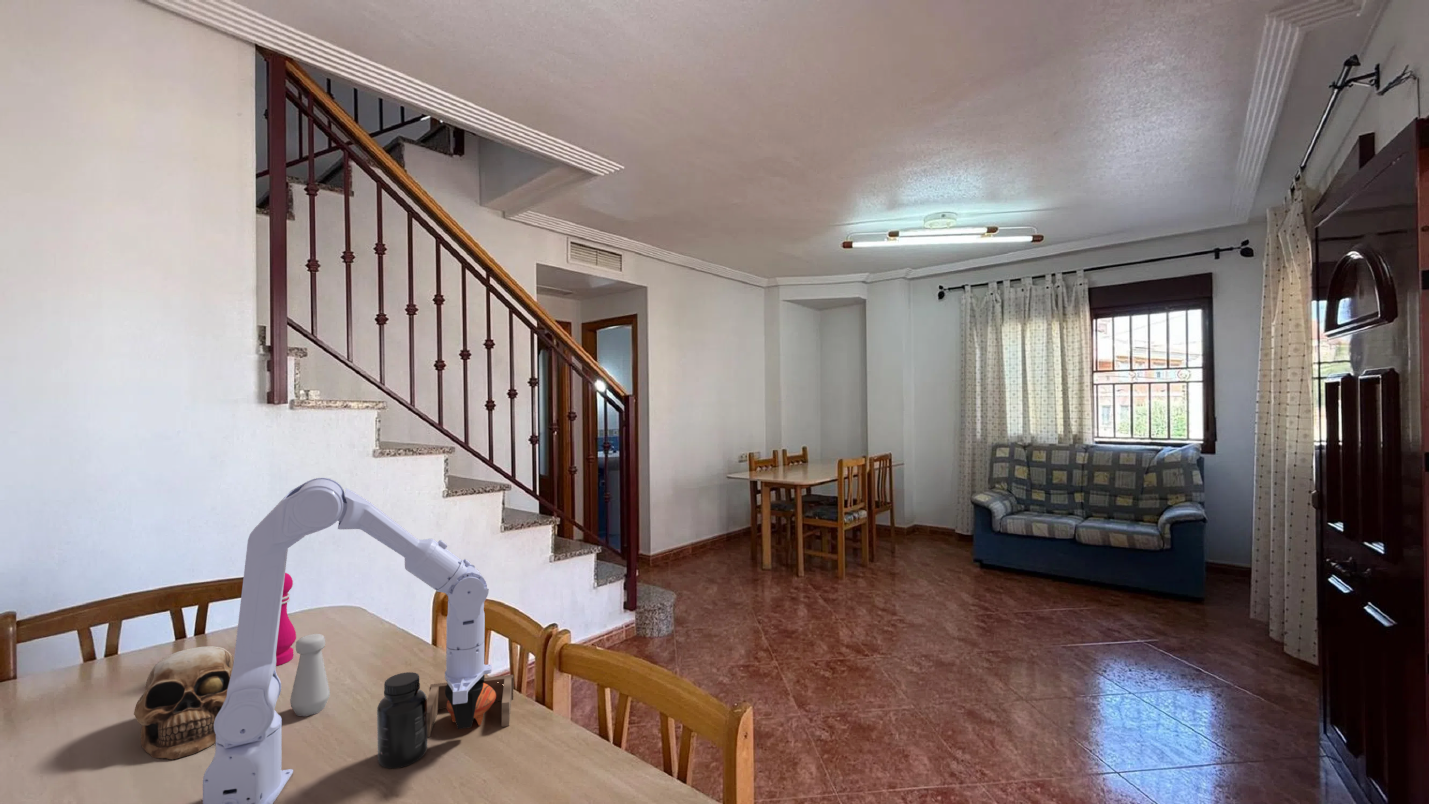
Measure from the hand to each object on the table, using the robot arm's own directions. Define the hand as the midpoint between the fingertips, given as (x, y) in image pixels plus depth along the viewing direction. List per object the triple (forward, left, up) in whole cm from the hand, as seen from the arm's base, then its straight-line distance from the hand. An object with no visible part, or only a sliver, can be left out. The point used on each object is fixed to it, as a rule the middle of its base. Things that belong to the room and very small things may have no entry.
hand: (465, 726), depth 96 cm
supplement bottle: (-3, +9, -2) cm, 9 cm away
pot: (+6, 0, -2) cm, 6 cm away
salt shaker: (+16, +27, -2) cm, 32 cm away
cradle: (+7, 0, -2) cm, 7 cm away
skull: (+15, +44, -2) cm, 46 cm away
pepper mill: (+40, +41, -2) cm, 57 cm away
